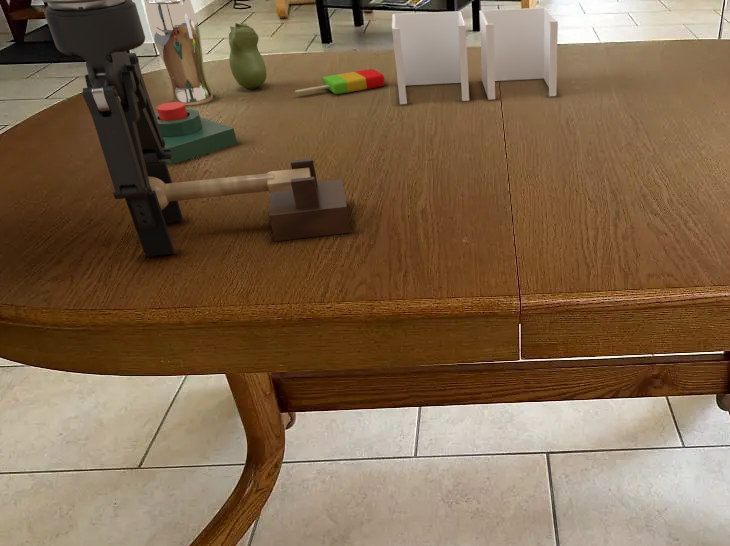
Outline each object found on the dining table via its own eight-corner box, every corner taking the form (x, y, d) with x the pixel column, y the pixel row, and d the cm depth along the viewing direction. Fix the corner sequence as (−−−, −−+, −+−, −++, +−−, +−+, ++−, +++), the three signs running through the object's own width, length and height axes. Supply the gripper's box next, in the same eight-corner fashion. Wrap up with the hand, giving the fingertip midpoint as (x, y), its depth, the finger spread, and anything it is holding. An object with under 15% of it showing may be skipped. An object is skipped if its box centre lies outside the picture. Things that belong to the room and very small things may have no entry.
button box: (126, 146, 104) (116, 117, 101) (190, 127, 110) (182, 99, 107) (172, 164, 97) (163, 134, 95) (237, 143, 103) (230, 114, 101)
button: (155, 119, 101) (151, 106, 100) (179, 113, 103) (175, 100, 102) (169, 124, 99) (165, 111, 98) (193, 117, 101) (189, 104, 100)
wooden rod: (135, 219, 76) (123, 186, 74) (140, 205, 79) (129, 173, 77) (313, 200, 79) (307, 167, 77) (313, 187, 82) (307, 155, 80)
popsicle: (387, 86, 125) (386, 74, 124) (301, 101, 119) (299, 89, 118) (374, 79, 129) (373, 67, 128) (290, 93, 123) (288, 81, 122)
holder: (274, 241, 79) (262, 187, 75) (275, 211, 85) (264, 160, 81) (350, 232, 80) (342, 179, 76) (346, 203, 86) (338, 152, 83)
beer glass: (194, 92, 124) (167, -8, 115) (225, 96, 122) (200, -5, 113) (162, 103, 119) (131, 0, 110) (194, 108, 117) (165, 3, 108)
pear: (259, 81, 129) (246, 18, 123) (275, 87, 126) (263, 23, 120) (230, 88, 126) (215, 24, 120) (246, 94, 123) (231, 29, 117)
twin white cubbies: (545, 77, 128) (546, 7, 121) (556, 95, 119) (557, 21, 112) (399, 85, 125) (392, 14, 119) (399, 104, 117) (392, 28, 110)
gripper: (112, 20, 58) (192, 276, 72) (149, -20, 74) (209, 196, 88) (8, 27, 57) (110, 286, 71) (68, -16, 73) (142, 203, 87)
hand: (165, 236), depth 79 cm, fingers open, 7 cm apart
